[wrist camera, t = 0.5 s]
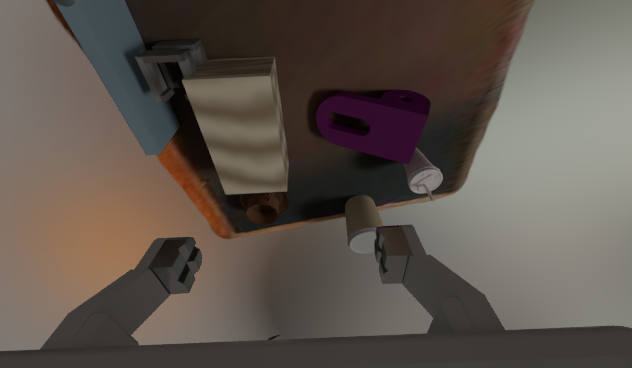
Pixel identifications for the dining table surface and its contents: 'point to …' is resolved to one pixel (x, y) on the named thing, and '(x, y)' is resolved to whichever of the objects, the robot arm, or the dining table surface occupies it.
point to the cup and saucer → (264, 206)
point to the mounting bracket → (377, 122)
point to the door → (121, 67)
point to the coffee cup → (362, 223)
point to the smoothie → (422, 174)
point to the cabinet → (227, 111)
